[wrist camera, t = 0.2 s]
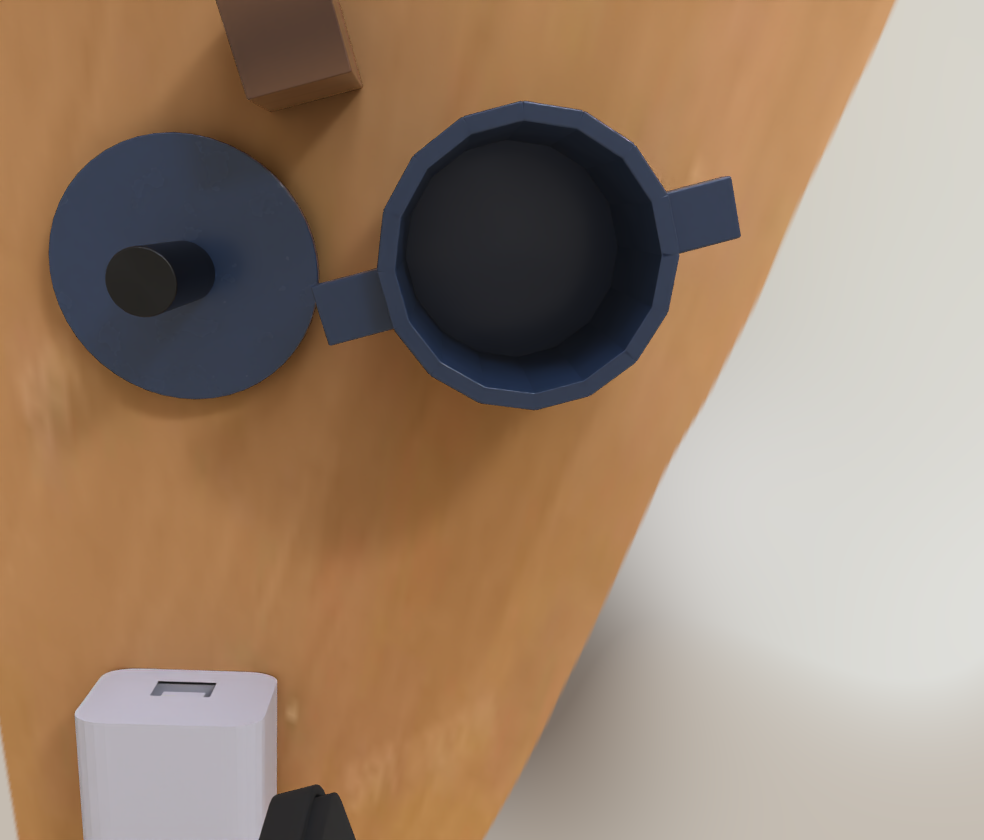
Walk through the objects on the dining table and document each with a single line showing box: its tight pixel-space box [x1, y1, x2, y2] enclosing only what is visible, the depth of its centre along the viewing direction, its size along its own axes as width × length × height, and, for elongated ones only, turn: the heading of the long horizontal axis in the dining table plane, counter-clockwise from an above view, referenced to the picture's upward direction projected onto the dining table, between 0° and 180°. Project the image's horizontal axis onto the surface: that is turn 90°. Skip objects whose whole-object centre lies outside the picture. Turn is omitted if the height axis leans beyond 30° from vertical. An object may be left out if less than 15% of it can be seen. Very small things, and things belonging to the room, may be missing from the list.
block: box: [216, 0, 363, 112], centre depth 33 cm, size 4×4×4 cm
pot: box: [311, 101, 741, 410], centre depth 34 cm, size 11×17×8 cm
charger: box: [75, 669, 277, 840], centre depth 43 cm, size 5×9×15 cm
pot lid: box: [49, 132, 319, 399], centre depth 35 cm, size 12×12×7 cm
